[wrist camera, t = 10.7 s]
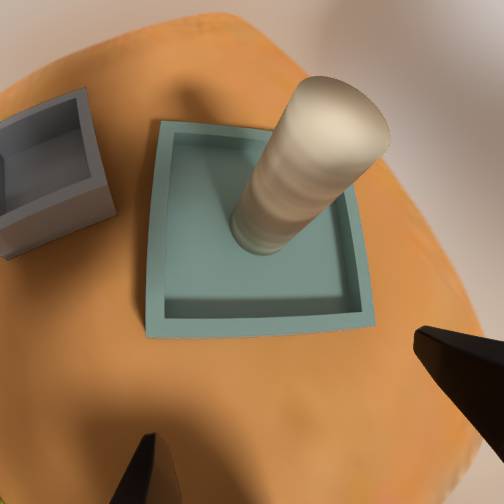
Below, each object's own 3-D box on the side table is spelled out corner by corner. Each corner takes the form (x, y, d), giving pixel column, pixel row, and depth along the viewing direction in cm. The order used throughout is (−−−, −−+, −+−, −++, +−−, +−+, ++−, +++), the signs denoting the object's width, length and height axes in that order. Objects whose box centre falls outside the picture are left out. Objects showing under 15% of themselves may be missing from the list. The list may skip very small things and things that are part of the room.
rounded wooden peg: (276, 266, 19) (384, 178, 9) (219, 237, 19) (279, 115, 9) (296, 216, 21) (394, 114, 11) (245, 189, 21) (312, 63, 10)
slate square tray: (117, 215, 18) (107, 184, 15) (7, 260, 15) (-21, 240, 12) (92, 123, 20) (85, 87, 16) (-1, 162, 17) (-20, 132, 13)
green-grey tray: (357, 328, 20) (375, 325, 18) (148, 338, 17) (145, 337, 15) (331, 159, 25) (343, 144, 23) (160, 139, 21) (161, 120, 19)
